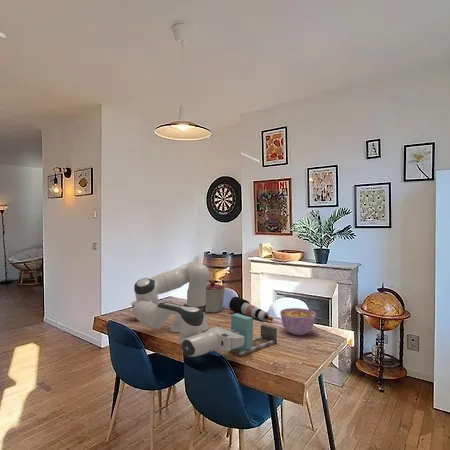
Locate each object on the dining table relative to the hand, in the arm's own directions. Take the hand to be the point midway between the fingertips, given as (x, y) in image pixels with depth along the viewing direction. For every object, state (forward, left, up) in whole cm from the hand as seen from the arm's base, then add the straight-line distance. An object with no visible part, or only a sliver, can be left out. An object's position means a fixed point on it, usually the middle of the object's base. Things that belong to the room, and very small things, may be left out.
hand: (237, 332), depth 161 cm
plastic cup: (-59, +55, -10) cm, 81 cm away
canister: (-12, +76, -10) cm, 78 cm away
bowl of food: (+36, +28, -10) cm, 47 cm away
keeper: (+2, +2, -9) cm, 9 cm away
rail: (+8, +7, -10) cm, 15 cm away
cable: (+14, +60, -10) cm, 62 cm away
